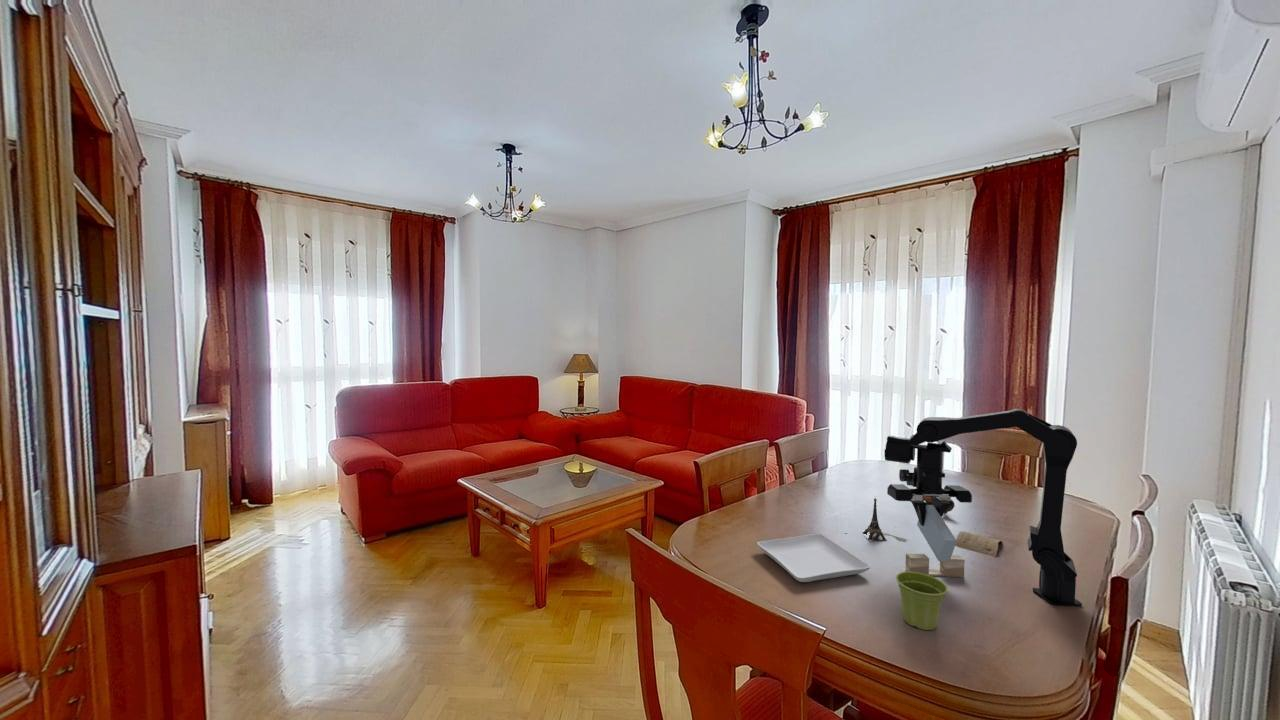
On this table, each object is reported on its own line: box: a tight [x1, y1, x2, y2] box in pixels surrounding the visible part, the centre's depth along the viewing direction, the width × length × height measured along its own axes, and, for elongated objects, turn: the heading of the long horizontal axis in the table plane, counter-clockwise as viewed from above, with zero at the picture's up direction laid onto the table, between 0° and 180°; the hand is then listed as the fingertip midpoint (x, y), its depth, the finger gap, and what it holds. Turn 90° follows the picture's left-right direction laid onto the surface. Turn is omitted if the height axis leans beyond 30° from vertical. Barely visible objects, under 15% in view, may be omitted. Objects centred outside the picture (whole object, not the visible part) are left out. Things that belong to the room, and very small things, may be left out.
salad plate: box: [756, 533, 871, 583], centre depth 129 cm, size 21×21×3 cm
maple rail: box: [904, 552, 966, 578], centre depth 124 cm, size 3×13×4 cm, turn 86°
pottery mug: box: [921, 492, 955, 515], centre depth 166 cm, size 12×9×8 cm
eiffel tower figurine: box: [862, 497, 908, 543], centre depth 146 cm, size 15×10×13 cm
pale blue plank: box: [916, 505, 957, 562], centre depth 123 cm, size 12×3×7 cm, turn 176°
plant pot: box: [895, 571, 949, 631], centre depth 103 cm, size 9×9×9 cm
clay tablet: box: [955, 530, 1003, 558], centre depth 141 cm, size 14×10×3 cm
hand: (927, 525), depth 127 cm, fingers closed on pale blue plank, 3 cm apart
